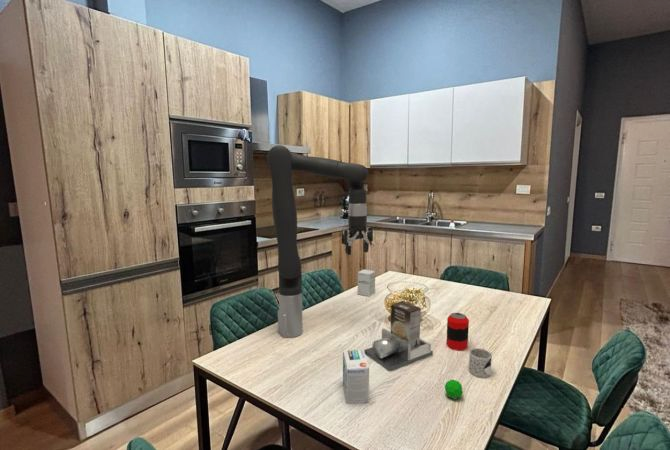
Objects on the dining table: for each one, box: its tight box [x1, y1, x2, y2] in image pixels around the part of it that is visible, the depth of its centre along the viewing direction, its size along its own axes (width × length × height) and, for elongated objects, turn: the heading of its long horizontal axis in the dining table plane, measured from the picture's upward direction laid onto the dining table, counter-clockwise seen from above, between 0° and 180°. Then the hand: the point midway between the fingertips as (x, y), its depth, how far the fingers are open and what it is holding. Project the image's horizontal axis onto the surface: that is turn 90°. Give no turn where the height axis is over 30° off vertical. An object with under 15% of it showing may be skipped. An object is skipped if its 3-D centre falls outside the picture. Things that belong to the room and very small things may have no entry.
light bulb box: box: [342, 349, 370, 404], centre depth 105 cm, size 11×7×11 cm, turn 5°
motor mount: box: [363, 328, 434, 372], centre depth 127 cm, size 20×14×8 cm
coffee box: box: [390, 300, 422, 350], centre depth 128 cm, size 9×6×16 cm
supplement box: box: [357, 268, 376, 298], centre depth 192 cm, size 7×7×13 cm
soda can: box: [445, 312, 470, 351], centre depth 133 cm, size 8×8×12 cm
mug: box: [468, 347, 493, 379], centre depth 117 cm, size 10×7×7 cm
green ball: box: [444, 379, 464, 400], centre depth 103 cm, size 5×5×5 cm
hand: (357, 253), depth 146 cm, fingers open, 8 cm apart
